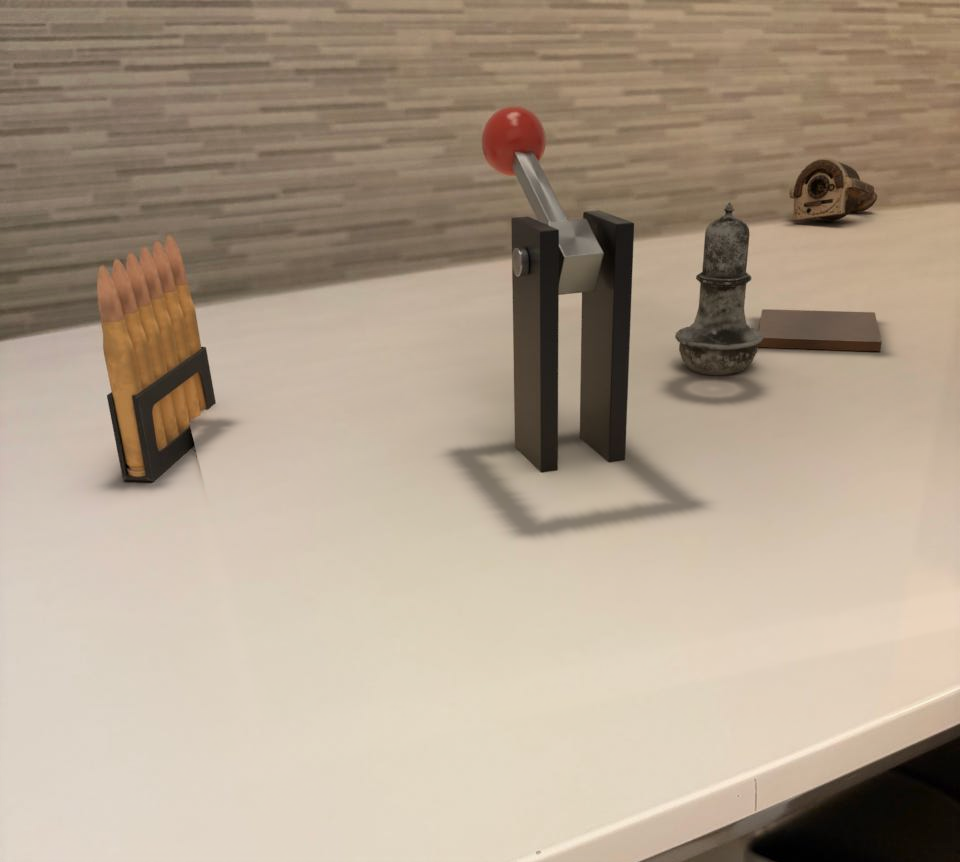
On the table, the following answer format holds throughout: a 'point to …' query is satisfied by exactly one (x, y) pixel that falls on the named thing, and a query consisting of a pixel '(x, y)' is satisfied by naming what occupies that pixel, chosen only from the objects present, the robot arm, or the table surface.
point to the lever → (542, 193)
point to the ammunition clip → (152, 360)
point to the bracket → (599, 340)
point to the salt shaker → (721, 304)
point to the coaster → (820, 330)
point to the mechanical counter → (830, 191)
